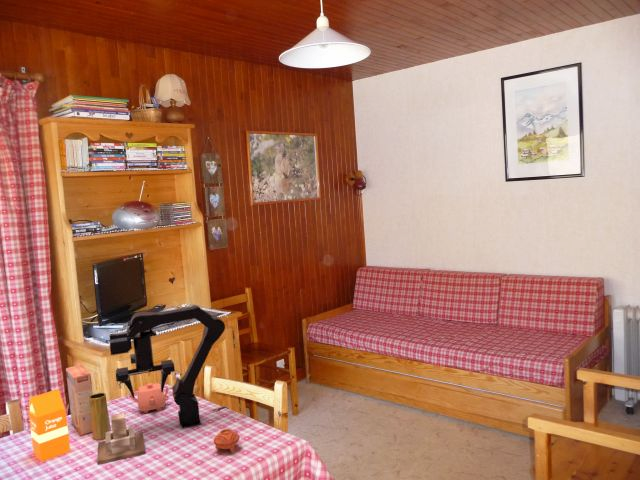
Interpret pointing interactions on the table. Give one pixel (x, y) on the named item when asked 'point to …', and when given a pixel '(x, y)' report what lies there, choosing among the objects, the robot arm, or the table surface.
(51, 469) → the table surface
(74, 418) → the cracker box
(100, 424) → the vase
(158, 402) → the teapot
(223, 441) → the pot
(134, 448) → the well
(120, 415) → the peg
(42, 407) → the orange juice
